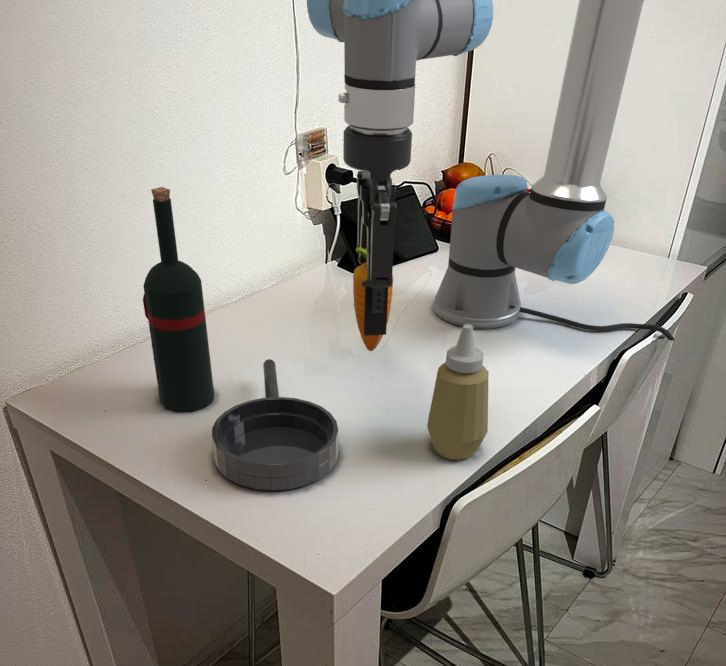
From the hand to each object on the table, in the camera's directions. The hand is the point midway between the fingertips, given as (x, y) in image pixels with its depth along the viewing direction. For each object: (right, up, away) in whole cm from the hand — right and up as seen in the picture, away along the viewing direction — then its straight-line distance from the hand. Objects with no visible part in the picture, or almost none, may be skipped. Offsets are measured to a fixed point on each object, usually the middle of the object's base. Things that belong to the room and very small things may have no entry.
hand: (371, 324), depth 101 cm
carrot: (0, -3, +2) cm, 4 cm away
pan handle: (-14, -6, +14) cm, 21 cm away
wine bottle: (-28, -7, +17) cm, 33 cm away
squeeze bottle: (+11, -16, +7) cm, 21 cm away
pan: (-13, -16, +5) cm, 21 cm away
